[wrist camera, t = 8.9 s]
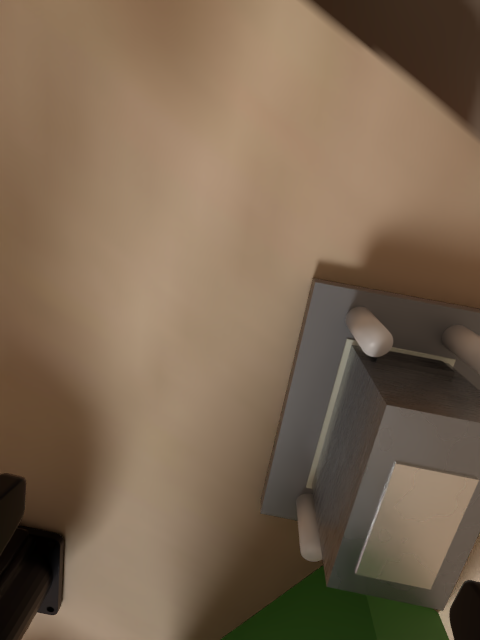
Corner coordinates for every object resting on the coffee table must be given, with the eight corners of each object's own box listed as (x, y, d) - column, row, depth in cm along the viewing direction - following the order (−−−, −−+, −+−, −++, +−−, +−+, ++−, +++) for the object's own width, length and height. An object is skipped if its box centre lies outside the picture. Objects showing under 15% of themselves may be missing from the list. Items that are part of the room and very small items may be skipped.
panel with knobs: (417, 530, 21) (449, 601, 18) (260, 499, 22) (258, 562, 18) (504, 313, 18) (569, 343, 14) (312, 277, 18) (324, 297, 14)
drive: (397, 502, 20) (444, 613, 14) (311, 485, 20) (327, 589, 14) (450, 358, 17) (532, 427, 12) (353, 339, 17) (390, 399, 12)
